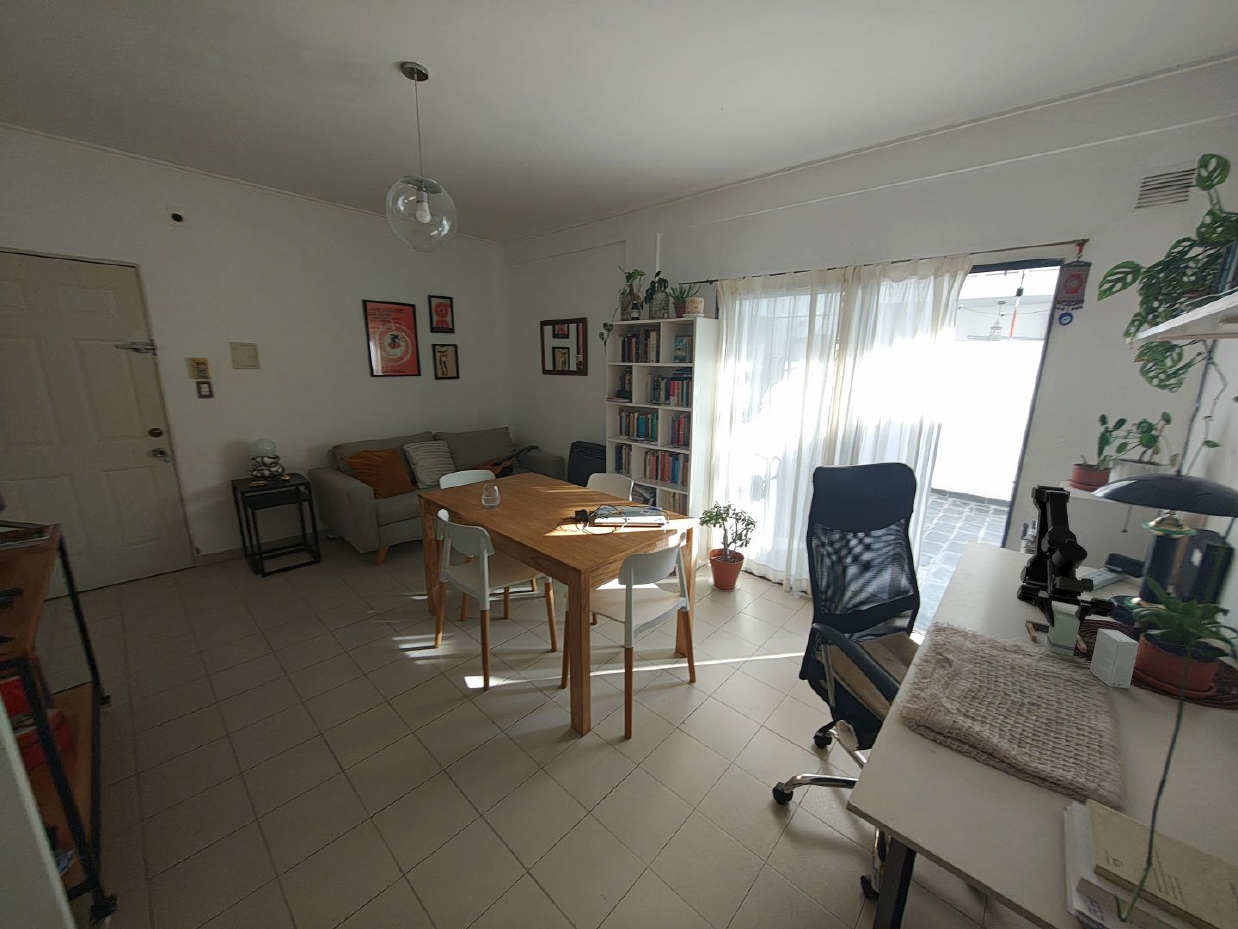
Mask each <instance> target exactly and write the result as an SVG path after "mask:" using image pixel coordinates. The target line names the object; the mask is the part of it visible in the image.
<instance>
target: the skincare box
mask: <svg viewBox="0 0 1238 929" xmlns="http://www.w3.org/2000/svg"><path fill="white" fill-rule="evenodd" d="M1095 638H1096V639H1095V644H1094V648H1093V654H1092V657H1091V663H1090V667H1089V672H1090V671H1091V672H1092V673H1093V674H1095V675H1097V676H1098V679H1099V680H1100V681H1101V682H1103V683H1105V685H1107V686H1108V687H1112V688H1119V689H1121V688H1122V689H1130V686H1131V681H1132V678H1133V672H1134V669H1135V666H1136V659H1137V655H1138V649H1139V646H1140V643H1139V641H1136V640H1134V639H1132V638H1131V637H1129V636H1128V635H1126V634H1124V633H1123V632H1121V631H1119V630H1118V629H1117V630H1115V629H1107V628H1098V629H1097V634H1096V637H1095ZM1091 672H1090V673H1091ZM1092 673H1091V674H1092ZM1093 674H1092V675H1093ZM1095 675H1094V676H1095Z"/></svg>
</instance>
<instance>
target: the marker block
mask: <svg viewBox="0 0 1238 929" xmlns="http://www.w3.org/2000/svg"><path fill="white" fill-rule="evenodd" d="M1052 610H1053V616H1054V627H1051V626H1050V627H1049V632H1047V636H1046V643H1045V644H1046V645H1047V647H1048V650H1049V651H1050V652H1054V653H1058V654H1063V655H1067V656H1070V657H1073V656H1074V652H1075V650H1076V639H1077V634H1079V633H1078V630H1079V625H1080V621H1079V620H1078V618H1077V617H1076V615H1075V613H1074V614H1073V613H1069V612H1064V611H1059V610H1054V609H1052Z"/></svg>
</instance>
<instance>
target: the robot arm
mask: <svg viewBox="0 0 1238 929" xmlns="http://www.w3.org/2000/svg"><path fill="white" fill-rule="evenodd" d="M1030 495H1031V498H1032V503H1033V505H1034V507H1035V508H1036V509H1037V511H1038V513H1037V514H1038V515H1037V524H1036V533H1035V543H1034V552H1033V555H1032V556H1031V557H1029V559H1028V560H1027V561H1026V565H1024V566H1023V568H1022V570H1021V572H1020V576H1019V577H1020V578H1019V579H1020V581H1021V583H1022V584H1020V586H1018V589H1017V591H1016V599H1017V600H1019V601H1024V602H1027V603H1029V604H1032V605H1033V606H1036V607H1037V608H1038V609H1039V611H1041V613H1042V614H1043V615H1044V617H1045V619H1046V620H1047V623H1048V625H1050V626H1051V627H1054V616H1053V610H1054V609H1053V602H1057V603H1062V604H1066V605H1070V606H1071V605H1072V606H1077V609H1076V610H1075V612H1074V615H1076V617H1077V618H1078V620H1079V621H1080V625H1079V630H1078V634H1079V633H1080V631H1081V629H1082V626H1083V624H1084V622H1085V619H1086V618H1087V617H1091V616H1098V617H1103V618H1108V617H1110V616H1111V615H1112V614H1113V613H1114V612H1115V611H1116V609H1117V608H1116V604H1115V602H1114V601H1112V599H1106V598H1100V597H1094V596H1093V597H1091V599H1090V600H1087V599H1082V598H1079V597H1081V596H1082V594H1084V593H1085V592H1093V591H1094V589H1095V588H1094V579H1092V578H1086V577H1083V578H1081V579H1078V577H1077V571H1076V570H1077V569H1079V568H1080V567H1081V565H1083V562H1084V561H1085V560H1086V559H1087V557H1088V551H1087V550H1086V549H1085V548H1084V546H1082V545H1081V544H1080V542H1078V538H1077V535H1076V534H1075V533H1074V532H1073V531H1072V530H1071V529H1070V524H1069V513H1068V503H1070V497H1071V491H1069V490H1066V489H1065V488H1064V486H1058V485H1049V484H1048V485H1046V484H1037V486H1036V487H1032V488H1031V494H1030ZM1084 591H1085V592H1084Z"/></svg>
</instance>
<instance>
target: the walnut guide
mask: <svg viewBox="0 0 1238 929" xmlns="http://www.w3.org/2000/svg"><path fill="white" fill-rule="evenodd" d="M1049 627H1050V624H1047V623H1042V622H1037V621H1033V620H1029V619H1026V620H1025V628H1026V631H1027V633H1028V635H1029V638H1030V639H1031V640H1030V641H1033V642H1037V639H1038V635H1037V633H1036V631H1035V630H1038V631H1043V632H1046V633H1048V632H1049ZM1076 644H1077V645H1076ZM1076 644H1075V645H1076V646H1077V648H1078V649H1079V651H1080V653H1083V654H1086V653H1087V650H1088V648H1087V646H1086V644H1085V642H1084V641H1083V639H1082V638H1081V636H1080V635H1079V633H1078V634H1077V639H1076Z"/></svg>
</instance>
